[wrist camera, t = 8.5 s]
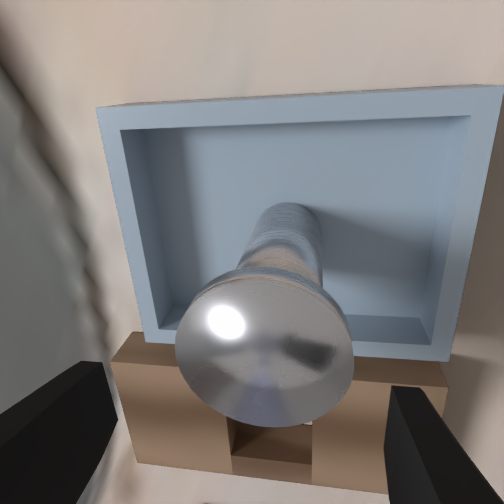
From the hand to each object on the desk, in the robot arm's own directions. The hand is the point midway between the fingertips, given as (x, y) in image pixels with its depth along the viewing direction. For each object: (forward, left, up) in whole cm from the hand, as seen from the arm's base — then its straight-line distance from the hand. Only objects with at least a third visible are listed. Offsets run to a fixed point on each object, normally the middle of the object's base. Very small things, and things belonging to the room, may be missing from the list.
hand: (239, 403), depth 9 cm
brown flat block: (-9, 0, -9) cm, 13 cm away
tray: (+1, -1, -9) cm, 9 cm away
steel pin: (+1, -1, -9) cm, 9 cm away
